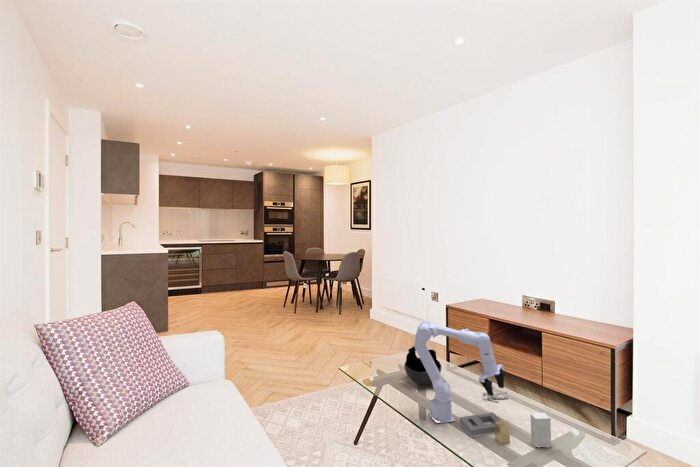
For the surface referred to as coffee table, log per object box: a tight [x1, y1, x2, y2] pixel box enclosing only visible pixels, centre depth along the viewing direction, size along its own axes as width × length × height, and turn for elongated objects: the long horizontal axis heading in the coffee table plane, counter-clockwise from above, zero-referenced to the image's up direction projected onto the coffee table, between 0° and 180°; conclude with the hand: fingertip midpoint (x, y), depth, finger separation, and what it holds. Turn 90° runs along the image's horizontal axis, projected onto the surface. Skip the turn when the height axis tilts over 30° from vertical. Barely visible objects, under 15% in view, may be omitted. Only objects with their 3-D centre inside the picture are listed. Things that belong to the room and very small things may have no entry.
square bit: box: [494, 420, 511, 445], centre depth 150 cm, size 4×4×7 cm
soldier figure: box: [482, 385, 509, 404], centre depth 183 cm, size 8×5×12 cm
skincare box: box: [530, 412, 552, 448], centre depth 146 cm, size 6×4×12 cm
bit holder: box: [459, 412, 502, 438], centre depth 159 cm, size 16×10×3 cm, turn 100°
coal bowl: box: [404, 346, 442, 386], centre depth 203 cm, size 20×20×19 cm
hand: (496, 391), depth 161 cm, fingers open, 7 cm apart
